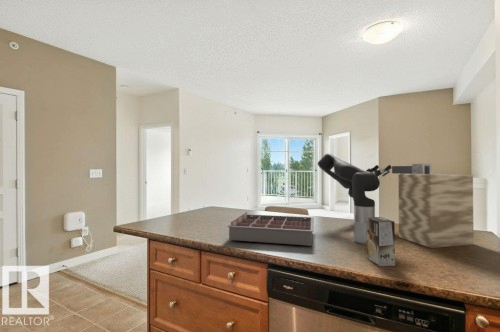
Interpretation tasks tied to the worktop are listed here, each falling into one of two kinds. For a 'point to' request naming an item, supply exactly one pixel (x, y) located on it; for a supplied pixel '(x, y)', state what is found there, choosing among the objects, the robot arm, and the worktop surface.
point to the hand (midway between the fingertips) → (384, 166)
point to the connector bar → (412, 169)
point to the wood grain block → (436, 209)
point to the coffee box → (380, 241)
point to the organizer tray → (272, 229)
